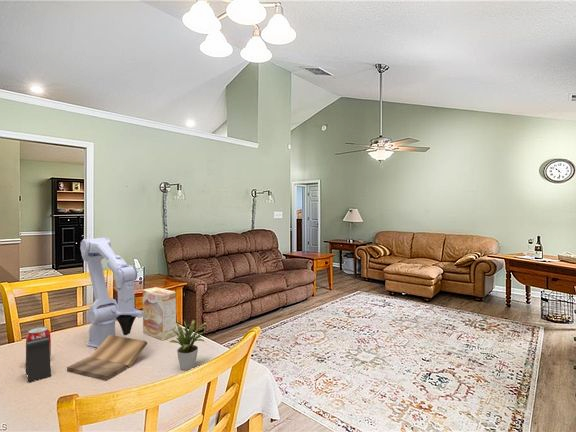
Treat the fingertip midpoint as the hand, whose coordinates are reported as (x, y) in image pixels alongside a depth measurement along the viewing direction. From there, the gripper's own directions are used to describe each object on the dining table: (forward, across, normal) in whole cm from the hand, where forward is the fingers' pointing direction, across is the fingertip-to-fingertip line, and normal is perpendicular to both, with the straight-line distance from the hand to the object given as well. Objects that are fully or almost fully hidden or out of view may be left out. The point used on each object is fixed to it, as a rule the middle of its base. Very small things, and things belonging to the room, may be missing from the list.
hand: (126, 334), depth 124 cm
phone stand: (+8, -16, -22) cm, 28 cm away
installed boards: (+8, 0, -13) cm, 15 cm away
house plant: (+8, +29, -1) cm, 30 cm away
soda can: (+8, -25, -15) cm, 31 cm away
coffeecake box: (+8, -2, +20) cm, 22 cm away
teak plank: (+5, 0, -3) cm, 6 cm away
